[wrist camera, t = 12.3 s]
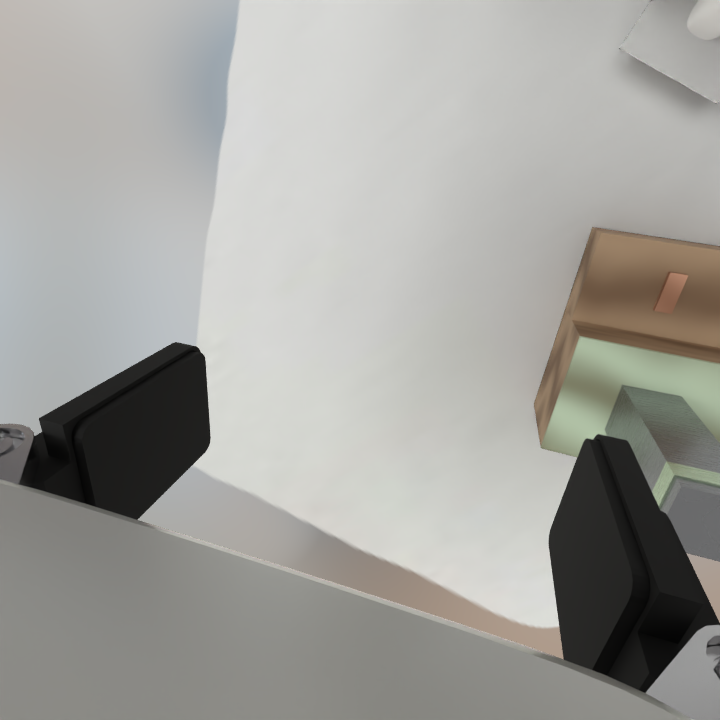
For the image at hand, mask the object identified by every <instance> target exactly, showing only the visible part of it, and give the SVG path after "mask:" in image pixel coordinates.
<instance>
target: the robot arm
mask: <svg viewBox="0 0 720 720" xmlns="http://www.w3.org/2000/svg"><path fill="white" fill-rule="evenodd" d="M39 421H40V425H41V428H42V432H41V433H39V434H38V435H36V436H34V432H33V431H32V430H31V429H30V428H29V427H26V426H24V425H19V424H0V720H720V623H719V621H718V619H717V617H716V615H715V612H714V610H713V608H712V606H711V604H710V602H709V600H708V598H707V596H706V594H705V592H704V590H703V588H702V585H701V583H700V581H699V579H698V577H697V575H696V573H695V571H694V569H693V566H692V564H691V562H690V560H689V558H688V556H687V554H686V552H685V550H684V548H683V546H682V543H681V541H680V539H679V537H678V535H677V533H676V531H675V529H674V527H673V525H672V523H671V520H670V519H669V517H668V516H667V514H666V513H664V512H663V511H660V508H659V506H658V504H657V502H656V500H655V498H654V495H653V493H652V491H651V489H650V487H649V485H648V482H647V480H646V478H645V476H644V474H643V472H642V470H641V467H640V465H639V463H638V461H637V459H636V457H635V454H634V452H633V450H632V448H631V446H630V444H629V442H628V441H627V440H624V439H619V438H614V437H610V436H605V435H601V434H598V435H596V436H595V437H594V439H588V438H587V439H585V440H584V442H583V444H582V447H581V450H580V452H579V455H578V458H577V460H576V463H575V465H574V468H573V471H572V473H571V476H570V479H569V481H568V484H567V487H566V489H565V492H564V495H563V497H562V500H561V503H560V505H559V508H558V511H557V513H556V516H555V519H554V521H553V524H552V527H551V530H550V534H549V551H550V558H551V566H552V573H553V581H554V589H555V596H556V604H557V611H558V619H559V627H560V634H561V641H562V650H563V657H564V660H563V659H561V658H558V657H555V656H552V655H550V654H547V653H544V652H541V651H539V650H536V649H533V648H530V647H527V646H525V645H521V644H518V643H516V642H513V641H510V640H506V639H504V638H501V637H498V636H494V635H492V634H489V633H485V632H483V631H480V630H477V629H474V628H471V627H468V626H465V625H462V624H460V623H456V622H453V621H450V620H447V619H444V618H441V617H438V616H435V615H432V614H429V613H426V612H423V611H420V610H417V609H414V608H410V607H407V606H404V605H401V604H398V603H395V602H392V601H389V600H386V599H383V598H380V597H376V596H374V595H370V594H368V593H364V592H361V591H358V590H355V589H352V588H349V587H346V586H343V585H340V584H337V583H334V582H331V581H328V580H324V579H321V578H318V577H315V576H312V575H309V574H306V573H303V572H299V571H296V570H293V569H290V568H287V567H284V566H281V565H278V564H275V563H272V562H268V561H265V560H262V559H259V558H256V557H253V556H250V555H247V554H243V553H240V552H237V551H234V550H231V549H227V548H225V547H221V546H218V545H215V544H212V543H209V542H206V541H202V540H199V539H196V538H193V537H190V536H187V535H184V534H181V533H177V532H174V531H170V530H168V529H164V528H161V527H158V526H155V525H152V524H149V523H145V522H142V521H139V520H137V519H138V518H140V516H141V515H142V514H144V513H145V511H146V510H147V509H149V508H150V506H152V505H153V504H154V503H155V502H156V500H157V499H158V498H160V497H161V495H163V494H164V492H166V491H167V490H168V489H169V488H170V487H171V486H172V485H173V484H174V483H175V482H176V481H177V480H178V479H179V478H180V477H181V476H182V475H183V474H184V473H185V472H186V471H187V470H188V469H189V468H190V467H191V466H192V465H193V464H194V463H195V462H196V461H197V460H198V459H199V458H200V457H201V456H202V455H203V454H204V453H205V452H206V450H207V449H208V447H209V444H210V424H209V408H208V393H207V378H206V362H205V357H204V355H203V354H202V353H201V352H200V350H199V348H198V347H196V346H191V345H187V344H182V343H177V342H175V343H172V344H171V345H169V346H167V347H165V348H163V349H162V350H160V351H158V352H156V353H154V354H153V355H151V356H149V357H147V358H146V359H144V360H142V361H140V362H138V363H137V364H135V365H133V366H131V367H130V368H128V369H126V370H124V371H123V372H121V373H119V374H117V375H115V376H114V377H112V378H110V379H108V380H106V381H105V382H103V383H101V384H99V385H98V386H96V387H94V388H92V389H91V390H89V391H87V392H85V393H83V394H82V395H80V396H78V397H76V398H74V399H73V400H71V401H69V402H67V403H66V404H64V405H62V406H60V407H58V408H57V409H55V410H53V411H51V412H50V413H48V414H46V415H44V416H42V417H41V418H39Z"/></svg>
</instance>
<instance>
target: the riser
mask: <svg viewBox="0 0 720 720" xmlns="http://www.w3.org/2000/svg"><path fill="white" fill-rule="evenodd" d="M622 385H626V386H631V387H637V388H642V389H647V390H652V391H657V392H662V393H667V394H673V395H678V396H682V397H683V399H684V400H685V401H686V402H687V404H688V405H689V406H690V407H691V408H692V410H693V411H694V412H695V413H696V415H697V416H698V417H699V418H700V419H701V421H702V422H703V423H704V424H705V426H706V427H707V428H708V429H709V431H710V432H711V433H712V434H713V435H714V437H715V438H716V439H717V440H718V442H719V443H720V246H714V245H707V244H701V243H694V242H687V241H681V240H674V239H668V238H661V237H654V236H648V235H641V234H634V233H628V232H621V231H614V230H608V229H601V228H594V227H592V230H591V233H590V236H589V239H588V242H587V245H586V248H585V251H584V254H583V257H582V260H581V263H580V266H579V269H578V272H577V275H576V278H575V281H574V284H573V288H572V291H571V294H570V297H569V300H568V303H567V306H566V309H565V312H564V315H563V318H562V321H561V324H560V327H559V330H558V333H557V336H556V339H555V342H554V345H553V348H552V351H551V354H550V357H549V360H548V363H547V366H546V369H545V372H544V375H543V378H542V381H541V384H540V387H539V390H538V393H537V396H536V400H535V403H534V408H535V414H536V420H537V426H538V433H539V439H540V445H541V448H542V449H546V450H550V451H554V452H558V453H562V454H566V455H570V456H574V457H578V455H579V452H580V450H581V447H582V444H583V442H584V440H585V439H587V438H588V439H594V437H595V436H596V435H598V434H601V435H605V436H607V434H606V432H605V427H606V425H607V422H608V420H609V417H610V414H611V412H612V409H613V407H614V404H615V402H616V399H617V396H618V394H619V391H620V389H621V386H622Z"/></svg>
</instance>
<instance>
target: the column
mask: <svg viewBox="0 0 720 720" xmlns="http://www.w3.org/2000/svg"><path fill="white" fill-rule="evenodd" d="M605 432H606V434H607V436H610V437H614V438H619V439H624V440H627V441H628V442H629V444H630V446H631V448H632V450H633V452H634V454H635V457H636V459H637V461H638V463H639V465H640V467H641V470H642V472H643V474H644V476H645V478H646V480H647V482H648V485H649V487H650V489H651V491H652V493H653V495H654V498H655V500H656V502H657V504H658V506H659V508H660V511H663V512H664V513H666V514H667V516H668V517H669V519H670V520H671V523H672V525H673V527H674V529H675V531H676V533H677V535H678V537H679V539H680V541H681V543H682V546H683V548H684V550H685V552H686V553H688V554H692V555H697V556H700V557H704V558H708V559H712V560H715V561H719V562H720V443H719V442H718V440H717V439H716V438H715V437H714V435H713V434H712V433H711V432H710V431H709V429H708V428H707V427H706V426H705V424H704V423H703V422H702V421H701V419H700V418H699V417H698V416H697V415H696V413H695V412H694V411H693V410H692V408H691V407H690V406H689V405H688V404H687V402H686V401H685V400H684V399H683V397H682V396H678V395H673V394H667V393H662V392H657V391H652V390H647V389H642V388H637V387H631V386H626V385H622V386H621V389H620V391H619V394H618V396H617V399H616V402H615V404H614V407H613V409H612V412H611V414H610V417H609V420H608V422H607V425H606V427H605Z"/></svg>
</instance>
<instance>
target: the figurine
mask: <svg viewBox="0 0 720 720" xmlns="http://www.w3.org/2000/svg"><path fill="white" fill-rule="evenodd" d="M619 49H620V50H622V51H624V52H626V53H627V54H629V55H631V56H633V57H634V58H636V59H638V60H640V61H641V62H643V63H645V64H647V65H649V66H650V67H652V68H654V69H656V70H657V71H659V72H661V73H663V74H664V75H666V76H668V77H670V78H671V79H673V80H675V81H677V82H679V83H680V84H682V85H684V86H686V87H687V88H689V89H691V90H693V91H694V92H696V93H698V94H700V95H701V96H703V97H705V98H707V99H709V100H710V101H712V102H714V103H716V104H717V103H718V102H719V100H720V0H651V1H650V2H649V4H648V5H647V7H646V8H645V10H644V11H643V13H642V15H641V16H640V18H639V19H638V21H637V22H636V24H635V25H634V27H633V28H632V30H631V31H630V33H629V34H628V36H627V37H626V39H625V40H624V42H623V43H622V45H621V46H620V48H619Z"/></svg>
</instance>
